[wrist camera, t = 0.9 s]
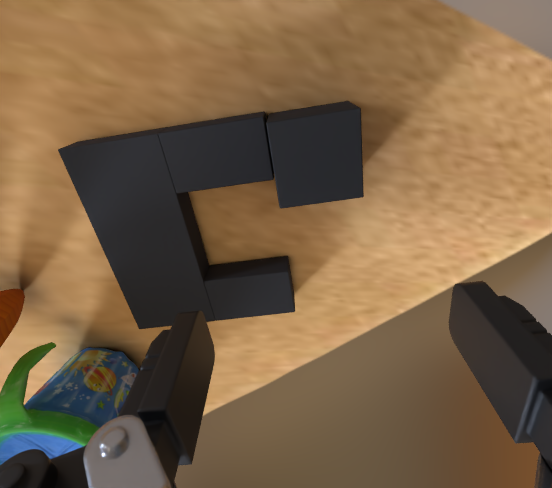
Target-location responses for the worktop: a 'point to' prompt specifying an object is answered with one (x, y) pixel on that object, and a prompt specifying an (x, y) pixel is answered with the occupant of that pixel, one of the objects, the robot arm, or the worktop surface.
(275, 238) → the worktop surface
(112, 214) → the base pad
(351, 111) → the small block
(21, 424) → the snack cup
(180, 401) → the robot arm
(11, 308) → the carrot
